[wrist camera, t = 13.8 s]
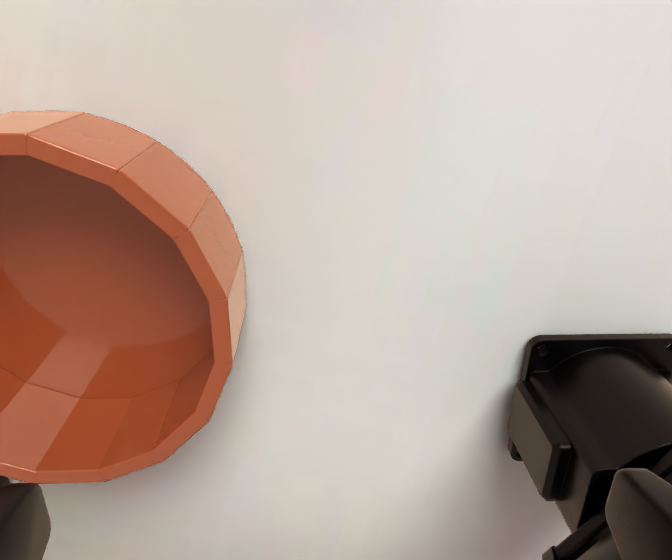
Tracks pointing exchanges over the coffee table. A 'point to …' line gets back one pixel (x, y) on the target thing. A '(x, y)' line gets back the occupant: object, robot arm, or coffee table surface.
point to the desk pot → (107, 299)
